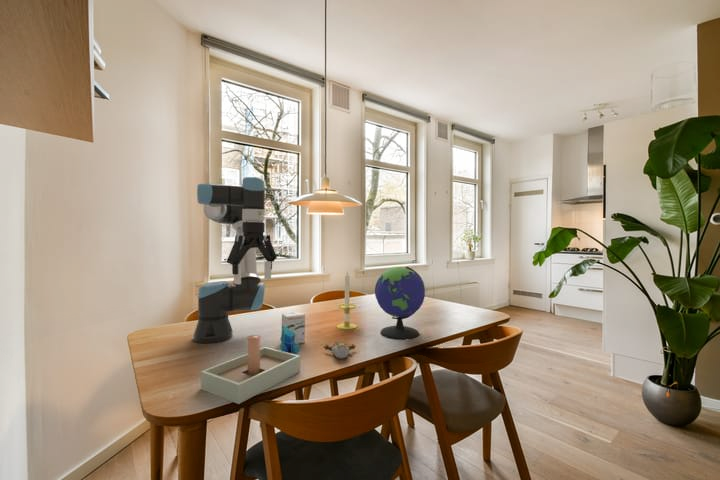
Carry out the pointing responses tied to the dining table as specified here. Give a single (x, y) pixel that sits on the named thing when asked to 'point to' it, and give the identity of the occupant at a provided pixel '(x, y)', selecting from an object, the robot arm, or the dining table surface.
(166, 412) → the dining table surface
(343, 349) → the toy
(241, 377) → the box
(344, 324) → the candle
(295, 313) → the ink box
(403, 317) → the globe
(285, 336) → the gemstone
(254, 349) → the peg
